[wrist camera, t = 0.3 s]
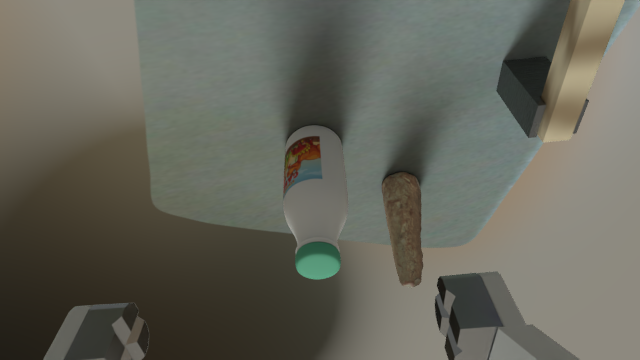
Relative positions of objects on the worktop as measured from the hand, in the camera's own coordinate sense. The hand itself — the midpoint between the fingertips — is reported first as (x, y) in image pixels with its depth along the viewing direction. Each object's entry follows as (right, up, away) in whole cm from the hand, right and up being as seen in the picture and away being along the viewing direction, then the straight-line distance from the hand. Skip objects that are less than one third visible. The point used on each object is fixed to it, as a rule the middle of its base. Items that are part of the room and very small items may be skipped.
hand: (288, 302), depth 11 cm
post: (+25, +16, +39) cm, 49 cm away
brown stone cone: (+13, +2, +51) cm, 53 cm away
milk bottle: (0, +8, +45) cm, 46 cm away
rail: (+25, +17, +27) cm, 40 cm away
